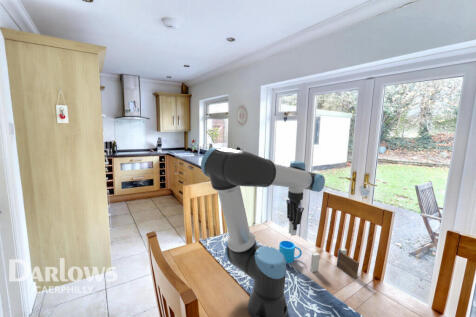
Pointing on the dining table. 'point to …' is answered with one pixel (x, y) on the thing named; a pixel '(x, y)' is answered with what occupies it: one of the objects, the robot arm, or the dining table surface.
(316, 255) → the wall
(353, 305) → the dining table surface
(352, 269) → the dark brown rectangular slab
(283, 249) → the mug
